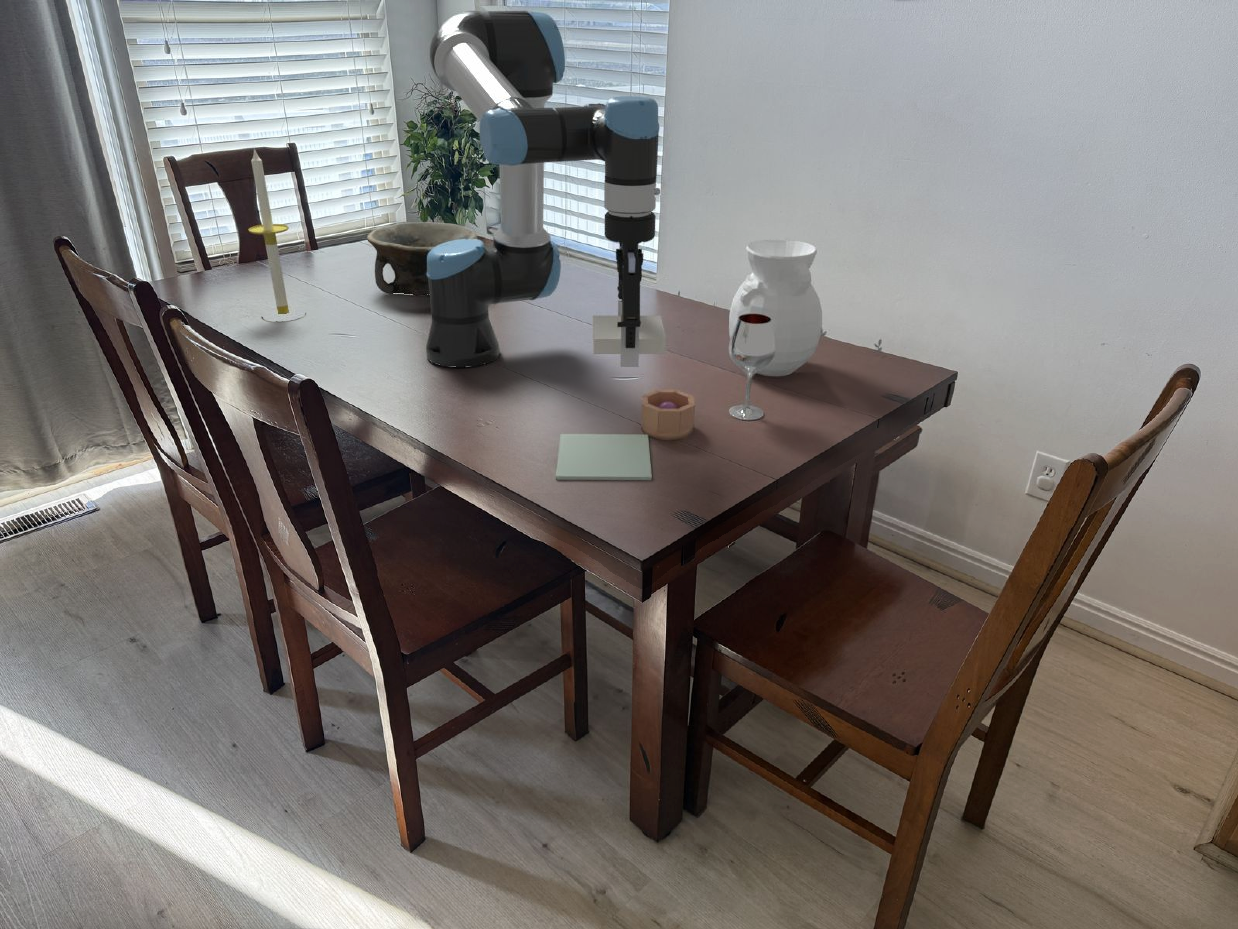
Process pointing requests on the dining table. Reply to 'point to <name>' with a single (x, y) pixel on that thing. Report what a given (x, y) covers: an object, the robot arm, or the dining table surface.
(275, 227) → the candle
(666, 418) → the pot
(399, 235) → the bowl
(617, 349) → the lid
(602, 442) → the mat
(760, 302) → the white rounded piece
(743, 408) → the wineglass
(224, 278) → the dining table surface
